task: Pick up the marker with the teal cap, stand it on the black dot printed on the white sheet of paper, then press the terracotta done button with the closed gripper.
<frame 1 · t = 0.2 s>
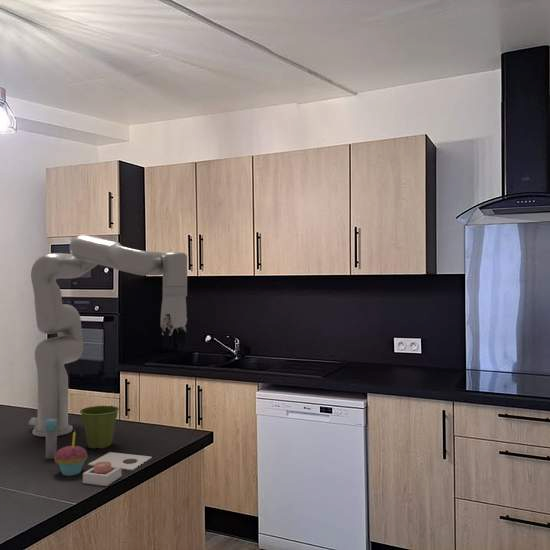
hand: (174, 346, 180), 31 cm above the counter, tool pointing down, fingers open, 9 cm apart
cupcake: (70, 473, 155), on the counter
button housing: (102, 479, 150), on the counter
paper: (120, 461, 165), on the counter
plant pot: (99, 446, 179), on the counter
marker: (51, 457, 167), on the counter
done button: (102, 469, 150), point 3 cm above the counter, slide at 0.0 cm
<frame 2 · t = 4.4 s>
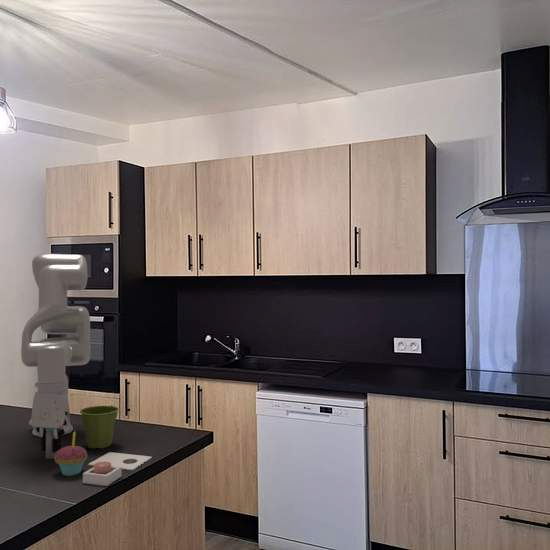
hand: (51, 449, 167), 2 cm above the counter, tool pointing down, fingers closed on marker, 3 cm apart
marker: (51, 457, 167), on the counter, touching gripper
everything else where it was.
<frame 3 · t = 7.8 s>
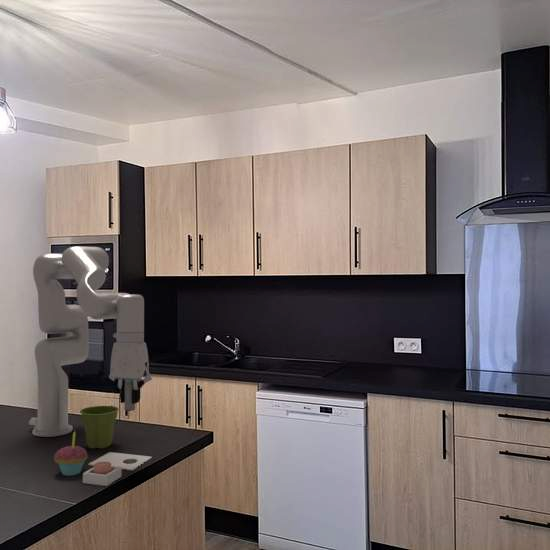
hand: (130, 401, 163), 17 cm above the counter, tool pointing down, fingers closed on marker, 3 cm apart
marker: (129, 409, 163), point 15 cm above the counter, touching gripper
everything else where it was.
when the fingers open (3 cm above the counter, at t = 11.3 s): marker stays where it is, resting on paper.
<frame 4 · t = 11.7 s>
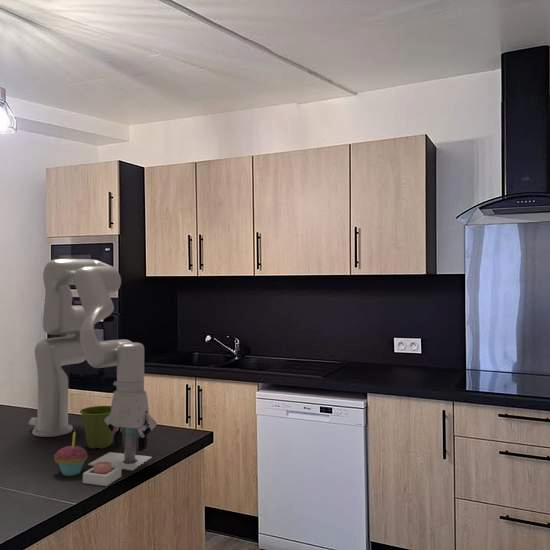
hand: (130, 448, 164), 4 cm above the counter, tool pointing down, fingers open, 7 cm apart
marker: (129, 461, 164), resting on paper
everything else where it was.
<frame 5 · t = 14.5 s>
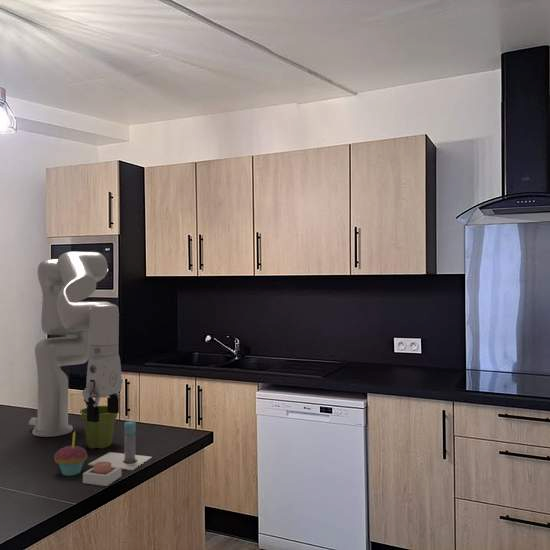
hand: (103, 417, 150), 16 cm above the counter, tool pointing down, fingers open, 8 cm apart
nothing on the counter moved.
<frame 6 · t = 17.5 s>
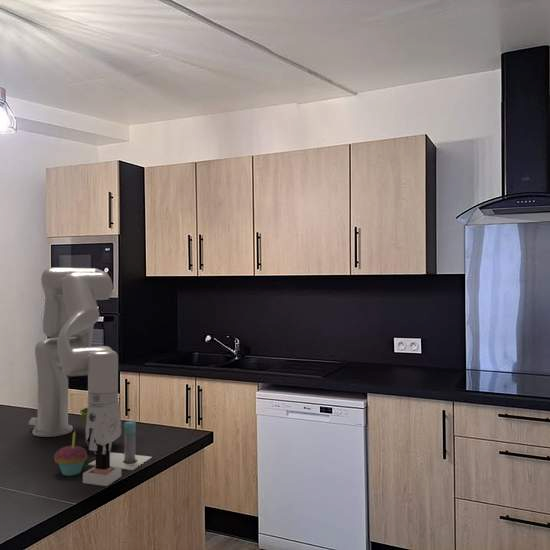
hand: (102, 467, 150), 3 cm above the counter, tool pointing down, fingers closed
done button: (102, 472, 150), point 2 cm above the counter, slide at 0.9 cm, touching gripper
everything else where it was.
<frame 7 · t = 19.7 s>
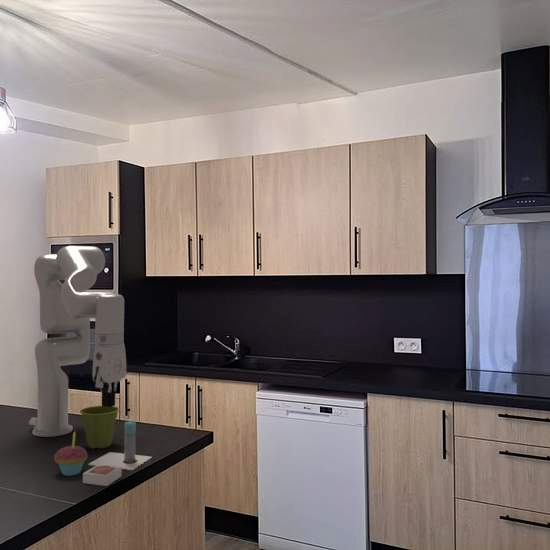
hand: (108, 405, 157), 18 cm above the counter, tool pointing down, fingers closed
done button: (102, 473, 150), point 2 cm above the counter, slide at 1.1 cm
everything else where it was.
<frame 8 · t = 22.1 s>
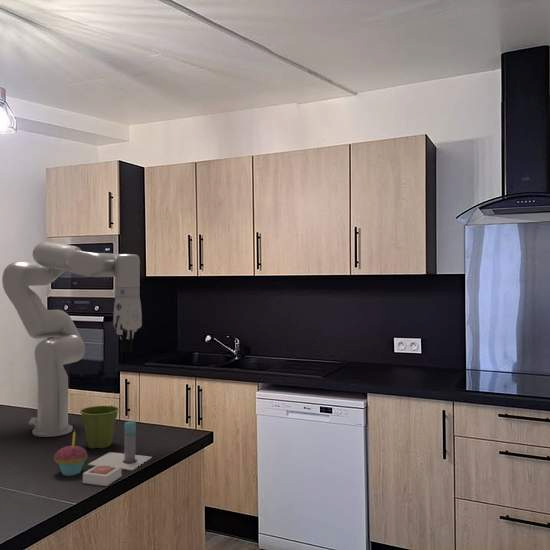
hand: (126, 351, 181), 29 cm above the counter, tool pointing down, fingers closed
nothing on the counter moved.
at the end: marker 0.1 cm from the target spot on the paper, point 0.4 cm above the paper's base; marker tilted 0°; done button slide at 1.1 cm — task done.
